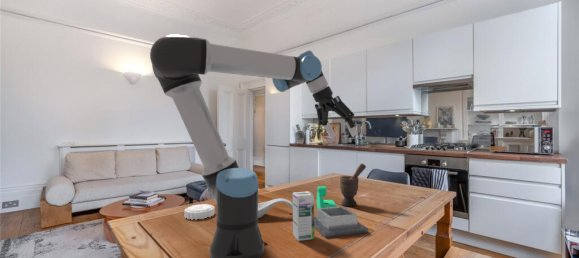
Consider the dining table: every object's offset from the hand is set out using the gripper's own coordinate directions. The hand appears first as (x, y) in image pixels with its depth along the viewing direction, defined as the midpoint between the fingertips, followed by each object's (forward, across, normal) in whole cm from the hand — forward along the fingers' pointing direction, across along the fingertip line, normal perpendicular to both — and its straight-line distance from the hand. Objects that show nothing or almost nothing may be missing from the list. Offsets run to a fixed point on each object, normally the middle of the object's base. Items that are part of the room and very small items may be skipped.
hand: (343, 136), depth 103 cm
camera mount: (+28, +16, +14) cm, 36 cm away
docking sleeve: (+25, -3, +24) cm, 34 cm away
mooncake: (+2, +34, +60) cm, 68 cm away
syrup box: (+18, -6, +37) cm, 42 cm away
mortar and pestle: (+35, +16, +2) cm, 39 cm away
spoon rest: (+15, +19, +38) cm, 46 cm away
